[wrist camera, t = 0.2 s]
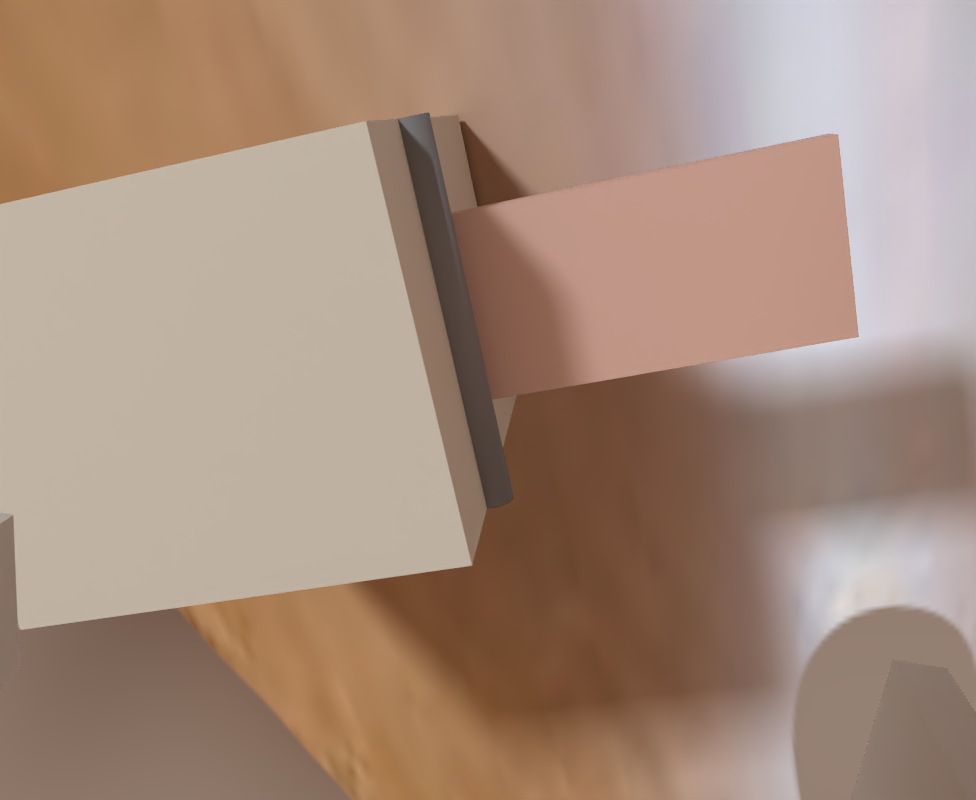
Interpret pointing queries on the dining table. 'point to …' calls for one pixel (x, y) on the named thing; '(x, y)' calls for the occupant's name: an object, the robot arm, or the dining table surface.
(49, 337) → the block
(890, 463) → the dining table surface
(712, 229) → the ticket strip
